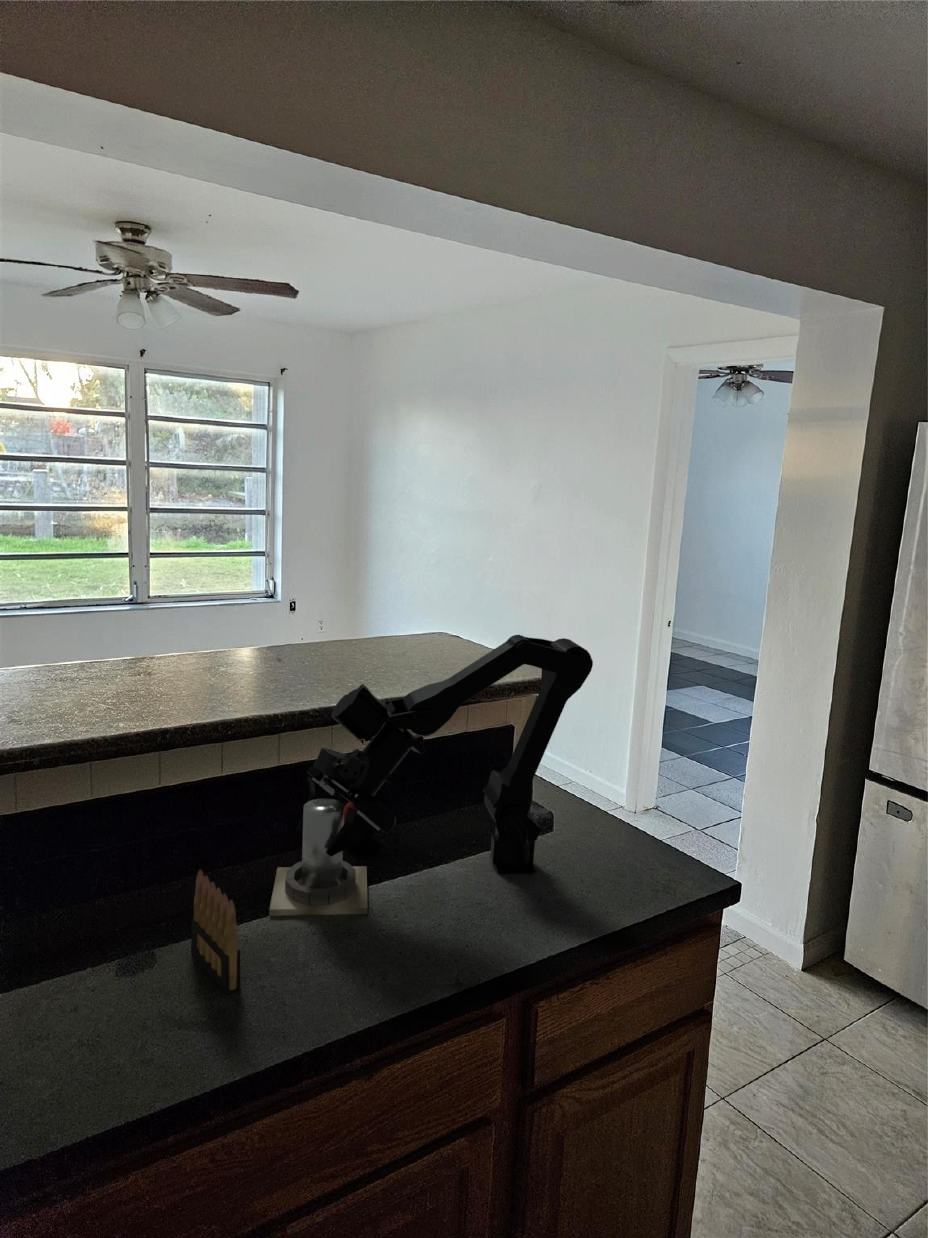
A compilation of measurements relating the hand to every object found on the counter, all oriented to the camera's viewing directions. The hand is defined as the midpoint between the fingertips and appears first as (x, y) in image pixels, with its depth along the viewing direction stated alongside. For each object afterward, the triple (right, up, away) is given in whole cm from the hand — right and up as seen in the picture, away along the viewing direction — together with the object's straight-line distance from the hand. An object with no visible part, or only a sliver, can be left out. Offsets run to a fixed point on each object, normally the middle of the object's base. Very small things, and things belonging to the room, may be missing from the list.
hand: (313, 841), depth 117 cm
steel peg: (+1, -8, +2) cm, 8 cm away
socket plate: (+1, -9, +2) cm, 9 cm away
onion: (+4, -5, +21) cm, 22 cm away
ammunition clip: (-9, -12, -17) cm, 23 cm away
